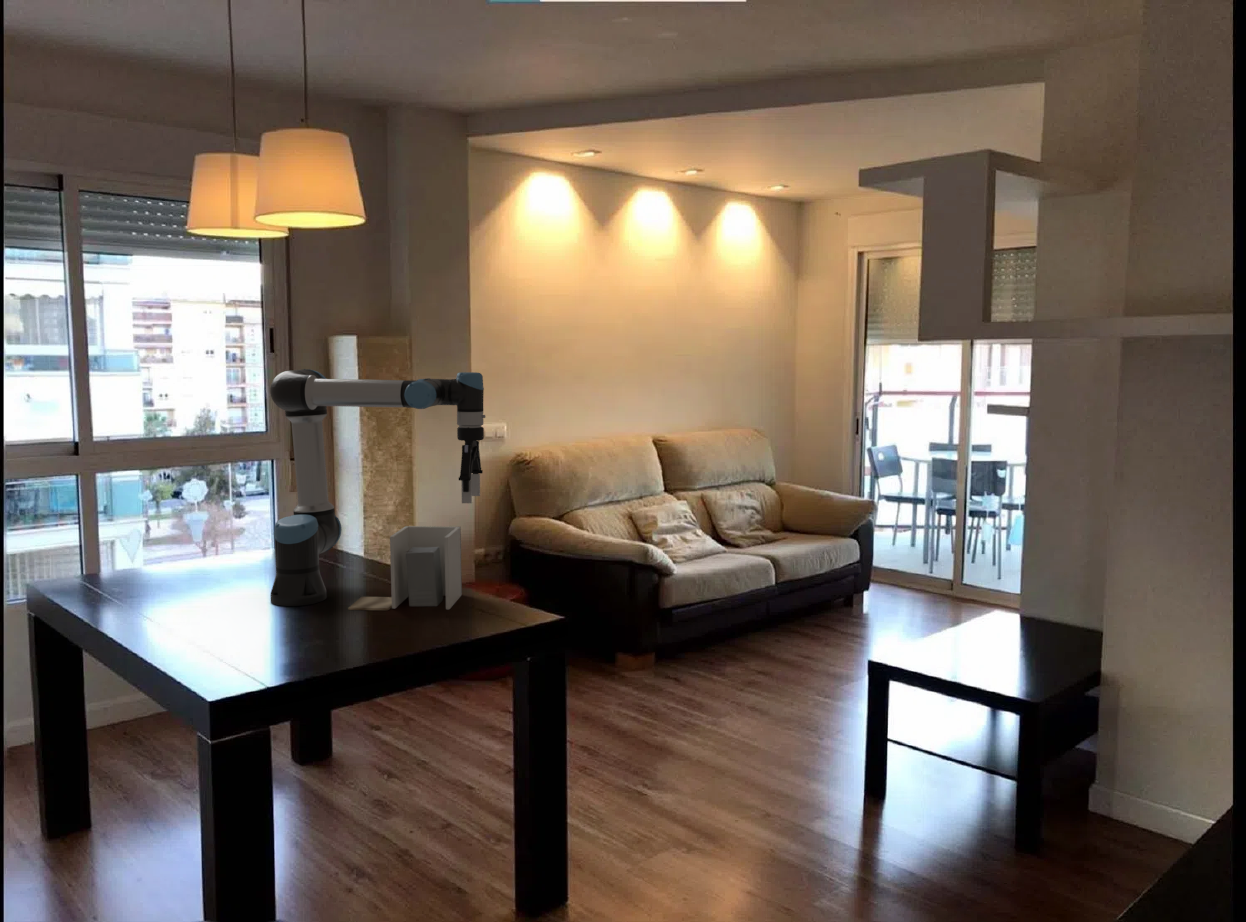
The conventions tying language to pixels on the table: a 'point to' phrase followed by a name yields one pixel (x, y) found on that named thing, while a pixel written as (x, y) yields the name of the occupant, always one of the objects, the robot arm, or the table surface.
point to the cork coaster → (372, 603)
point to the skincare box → (424, 576)
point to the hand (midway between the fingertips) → (471, 499)
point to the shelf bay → (427, 537)
